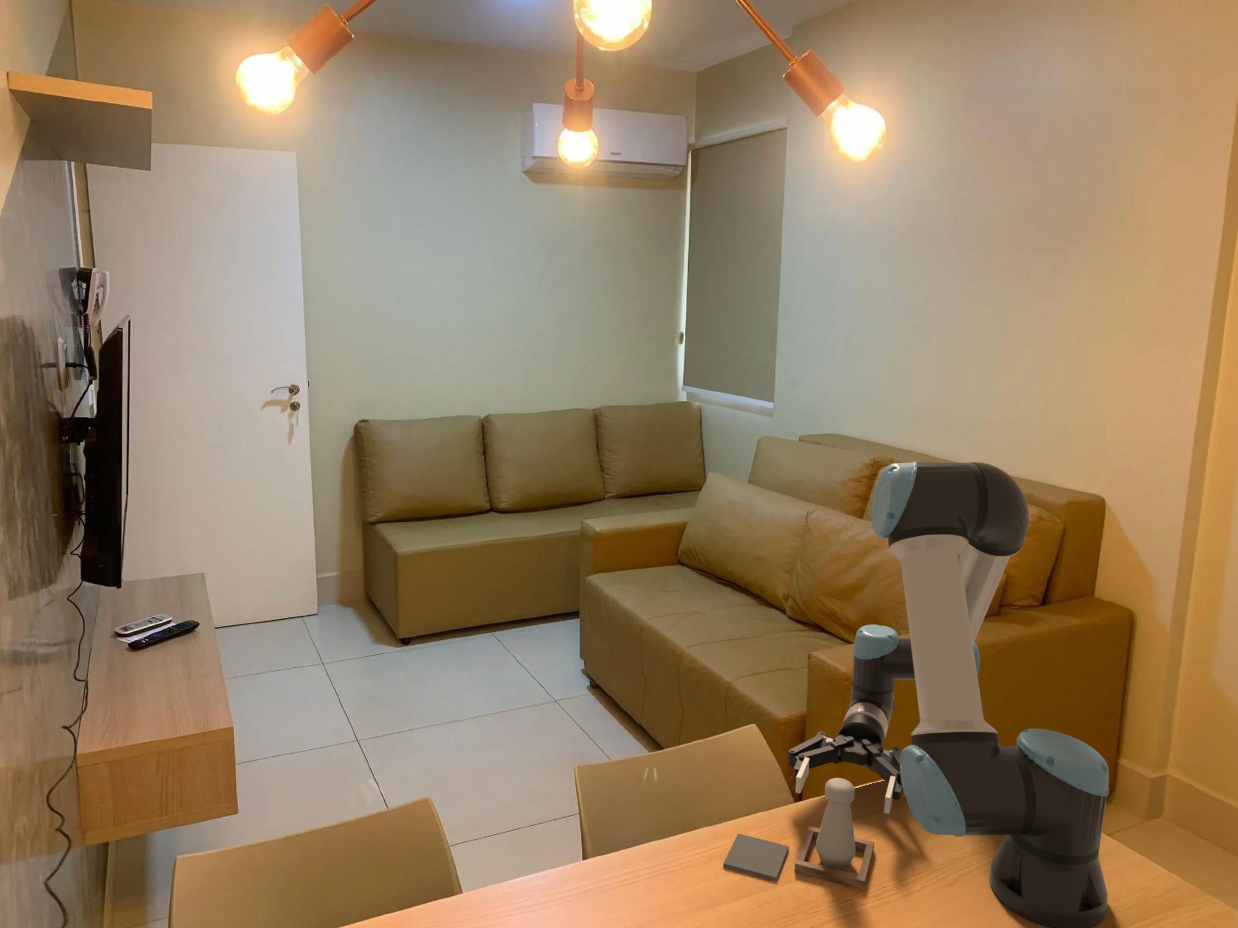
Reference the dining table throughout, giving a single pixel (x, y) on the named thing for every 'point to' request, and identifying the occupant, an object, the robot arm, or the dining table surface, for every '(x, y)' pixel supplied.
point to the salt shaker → (837, 826)
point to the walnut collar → (830, 873)
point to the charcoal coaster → (756, 857)
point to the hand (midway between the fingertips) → (841, 795)
